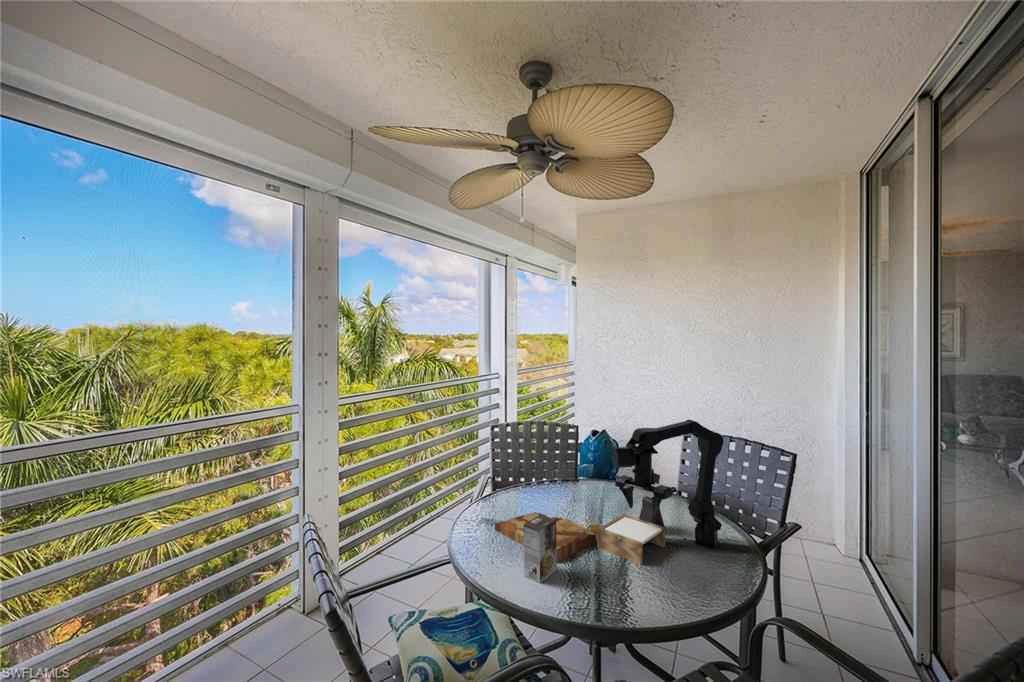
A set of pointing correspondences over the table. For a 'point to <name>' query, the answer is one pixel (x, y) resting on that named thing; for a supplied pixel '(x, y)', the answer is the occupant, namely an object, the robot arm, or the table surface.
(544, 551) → the coffee box
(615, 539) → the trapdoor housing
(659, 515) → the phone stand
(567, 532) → the decorative slab
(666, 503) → the table surface
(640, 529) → the trapdoor
